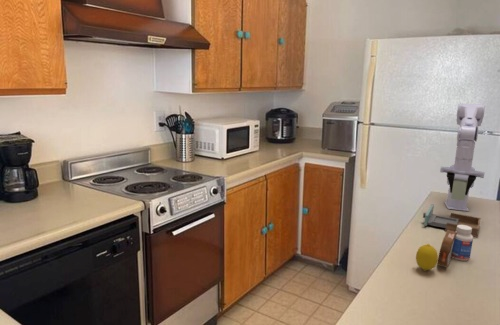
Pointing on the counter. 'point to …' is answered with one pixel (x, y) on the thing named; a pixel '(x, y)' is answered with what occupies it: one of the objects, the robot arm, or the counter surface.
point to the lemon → (426, 257)
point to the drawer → (437, 219)
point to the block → (459, 189)
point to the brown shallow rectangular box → (464, 223)
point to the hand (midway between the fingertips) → (458, 193)
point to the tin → (446, 248)
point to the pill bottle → (462, 243)
